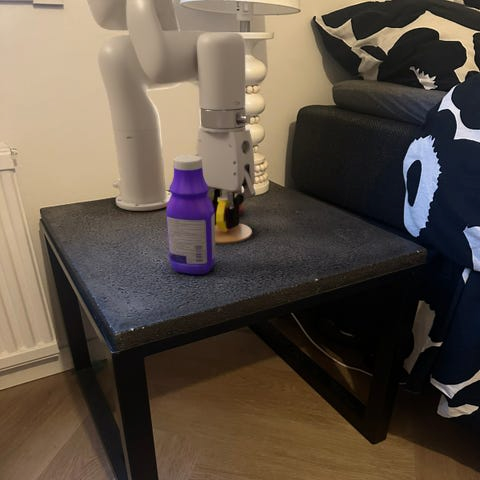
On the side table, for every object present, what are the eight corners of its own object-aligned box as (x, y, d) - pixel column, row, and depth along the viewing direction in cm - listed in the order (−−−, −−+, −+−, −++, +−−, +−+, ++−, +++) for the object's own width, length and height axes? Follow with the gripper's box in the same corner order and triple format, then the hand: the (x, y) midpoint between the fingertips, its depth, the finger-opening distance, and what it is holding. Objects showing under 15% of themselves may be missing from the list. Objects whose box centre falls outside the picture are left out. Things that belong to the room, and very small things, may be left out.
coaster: (187, 235, 88) (187, 233, 88) (221, 220, 95) (221, 218, 95) (229, 248, 83) (229, 246, 83) (262, 231, 90) (262, 229, 90)
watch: (227, 235, 86) (226, 203, 82) (212, 234, 86) (211, 202, 83) (237, 224, 90) (237, 193, 87) (224, 223, 91) (223, 192, 88)
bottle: (219, 263, 78) (216, 154, 69) (210, 278, 73) (205, 163, 64) (177, 259, 79) (169, 151, 70) (165, 274, 75) (155, 160, 65)
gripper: (276, 120, 77) (272, 228, 86) (201, 112, 85) (205, 211, 95) (248, 127, 72) (248, 241, 81) (171, 117, 80) (179, 221, 90)
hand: (225, 224), depth 88 cm, fingers closed on watch, 2 cm apart
